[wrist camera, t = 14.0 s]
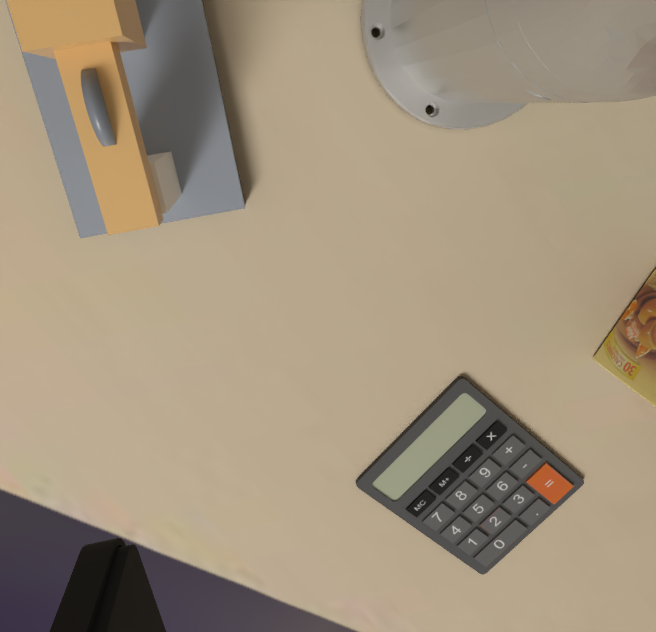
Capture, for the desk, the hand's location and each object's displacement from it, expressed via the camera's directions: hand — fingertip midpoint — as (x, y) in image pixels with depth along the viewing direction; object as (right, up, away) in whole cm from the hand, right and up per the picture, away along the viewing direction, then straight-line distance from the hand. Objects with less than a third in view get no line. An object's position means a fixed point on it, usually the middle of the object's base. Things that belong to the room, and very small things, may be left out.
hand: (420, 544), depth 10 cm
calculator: (+10, -9, +38) cm, 40 cm away
